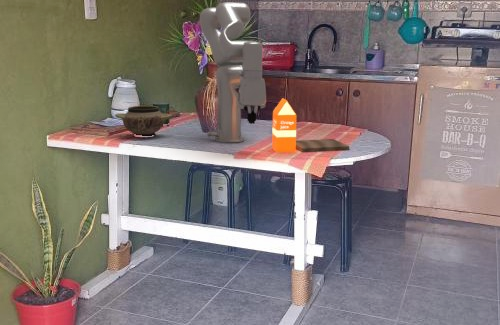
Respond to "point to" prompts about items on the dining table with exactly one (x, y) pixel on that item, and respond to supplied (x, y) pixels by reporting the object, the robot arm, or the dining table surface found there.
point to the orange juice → (284, 128)
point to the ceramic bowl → (143, 119)
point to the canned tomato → (163, 109)
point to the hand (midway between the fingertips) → (251, 123)
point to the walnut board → (320, 145)
